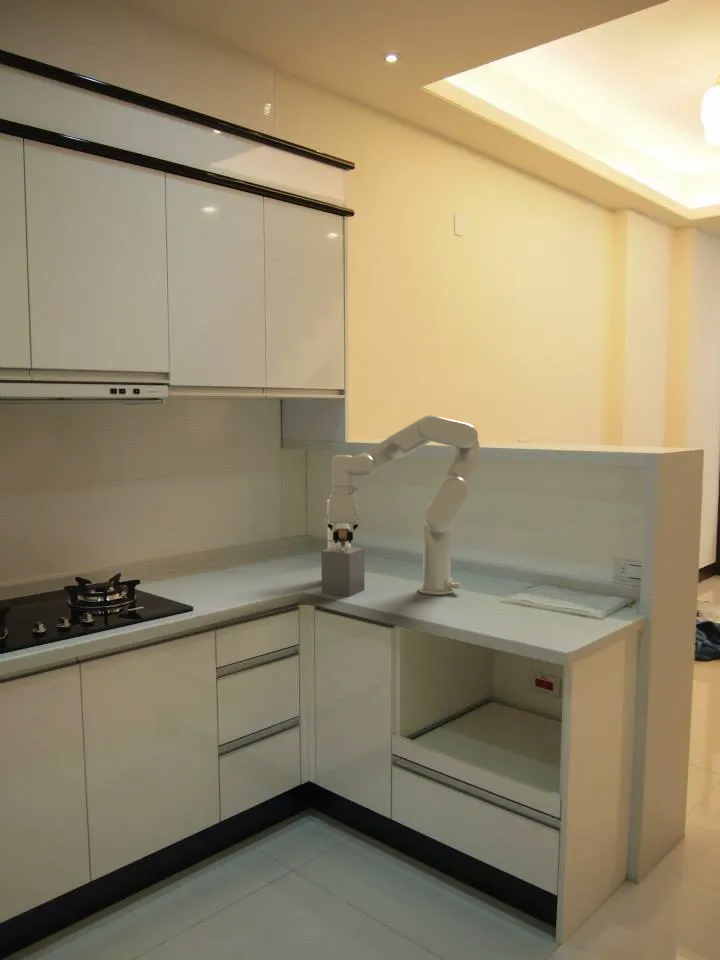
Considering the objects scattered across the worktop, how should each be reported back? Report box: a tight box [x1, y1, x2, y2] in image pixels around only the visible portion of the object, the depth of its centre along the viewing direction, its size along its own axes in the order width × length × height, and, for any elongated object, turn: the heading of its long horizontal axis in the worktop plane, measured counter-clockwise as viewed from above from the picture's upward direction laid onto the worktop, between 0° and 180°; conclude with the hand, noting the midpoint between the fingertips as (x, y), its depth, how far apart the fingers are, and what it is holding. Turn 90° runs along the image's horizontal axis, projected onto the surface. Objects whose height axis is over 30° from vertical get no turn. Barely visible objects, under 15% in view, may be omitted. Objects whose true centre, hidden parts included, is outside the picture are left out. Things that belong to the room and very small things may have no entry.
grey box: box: [320, 546, 365, 598], centre depth 266 cm, size 11×11×15 cm
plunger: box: [337, 528, 349, 551], centre depth 266 cm, size 8×8×20 cm
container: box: [326, 499, 352, 549], centre depth 283 cm, size 9×9×30 cm
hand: (343, 542), depth 265 cm, fingers closed on plunger, 4 cm apart
